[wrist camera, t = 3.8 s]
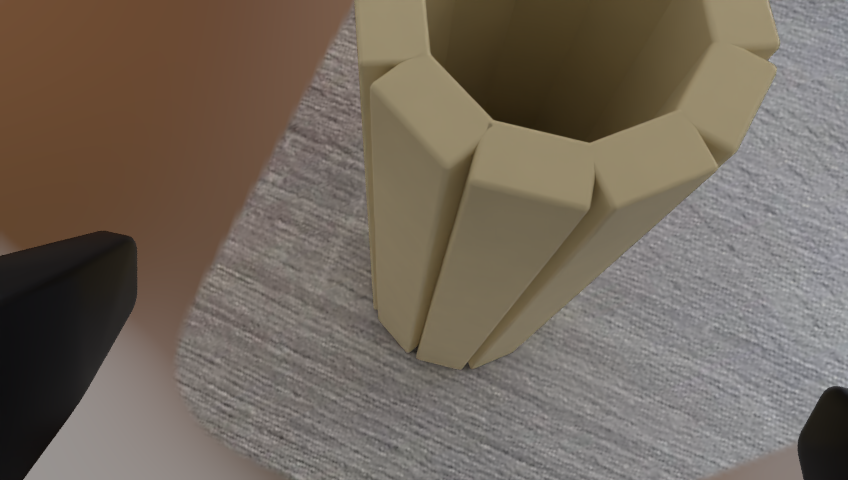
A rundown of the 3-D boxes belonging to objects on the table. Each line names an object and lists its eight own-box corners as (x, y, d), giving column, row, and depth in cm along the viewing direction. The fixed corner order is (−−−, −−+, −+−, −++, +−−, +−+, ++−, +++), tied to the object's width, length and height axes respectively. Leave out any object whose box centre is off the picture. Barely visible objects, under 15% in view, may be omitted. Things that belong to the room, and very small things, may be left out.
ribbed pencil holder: (527, 386, 19) (764, 253, 7) (350, 343, 19) (296, 142, 7) (557, 224, 21) (795, -110, 9) (393, 185, 21) (406, -198, 9)
